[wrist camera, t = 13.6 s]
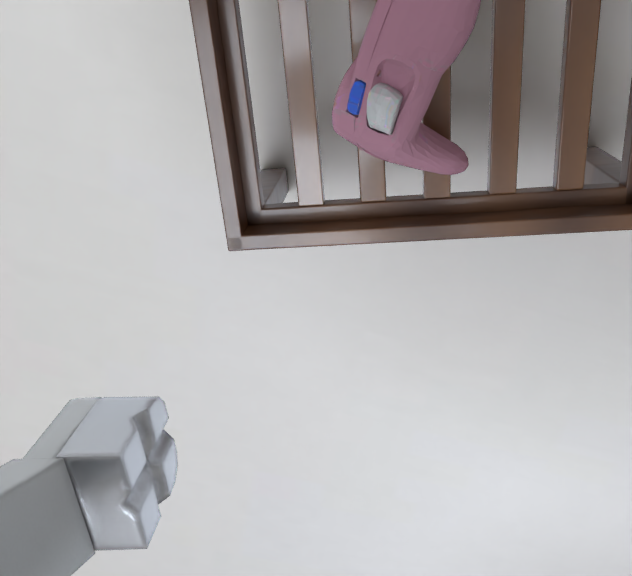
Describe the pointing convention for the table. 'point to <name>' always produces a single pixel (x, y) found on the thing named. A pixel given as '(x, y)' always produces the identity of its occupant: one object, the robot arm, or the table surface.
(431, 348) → the table surface
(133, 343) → the table surface
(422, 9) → the video game controller
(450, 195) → the rack
